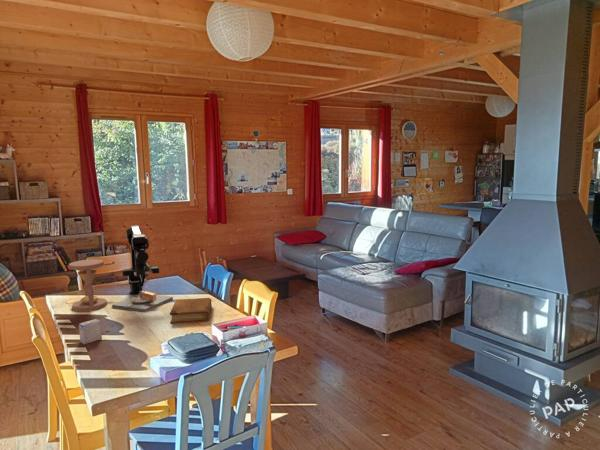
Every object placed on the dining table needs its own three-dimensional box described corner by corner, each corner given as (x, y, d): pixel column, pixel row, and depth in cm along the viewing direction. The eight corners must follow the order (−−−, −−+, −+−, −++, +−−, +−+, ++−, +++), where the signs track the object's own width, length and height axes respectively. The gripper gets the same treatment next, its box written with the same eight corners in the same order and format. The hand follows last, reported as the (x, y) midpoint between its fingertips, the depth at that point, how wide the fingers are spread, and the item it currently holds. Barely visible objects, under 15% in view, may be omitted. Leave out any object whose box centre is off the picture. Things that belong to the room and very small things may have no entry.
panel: (112, 307, 242) (111, 303, 242) (141, 295, 263) (140, 292, 263) (145, 311, 234) (145, 308, 234) (172, 299, 255) (172, 295, 255)
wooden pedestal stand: (106, 308, 240) (102, 264, 236) (70, 313, 234) (66, 267, 230) (107, 299, 256) (104, 258, 253) (74, 303, 250) (70, 260, 246)
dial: (127, 301, 247) (126, 292, 247) (146, 295, 257) (145, 287, 256) (145, 306, 237) (144, 297, 236) (163, 300, 247) (163, 291, 246)
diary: (209, 322, 218) (208, 310, 218) (170, 324, 216) (169, 313, 215) (211, 307, 241) (211, 297, 240) (176, 309, 238) (176, 299, 238)
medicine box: (97, 336, 201) (96, 318, 199) (102, 339, 198) (100, 320, 197) (79, 342, 195) (78, 323, 193) (84, 344, 192) (83, 325, 191)
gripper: (121, 263, 229) (123, 292, 231) (158, 260, 234) (160, 288, 237) (122, 258, 239) (124, 286, 241) (158, 256, 245) (159, 283, 247)
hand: (142, 286), depth 241 cm, fingers closed
